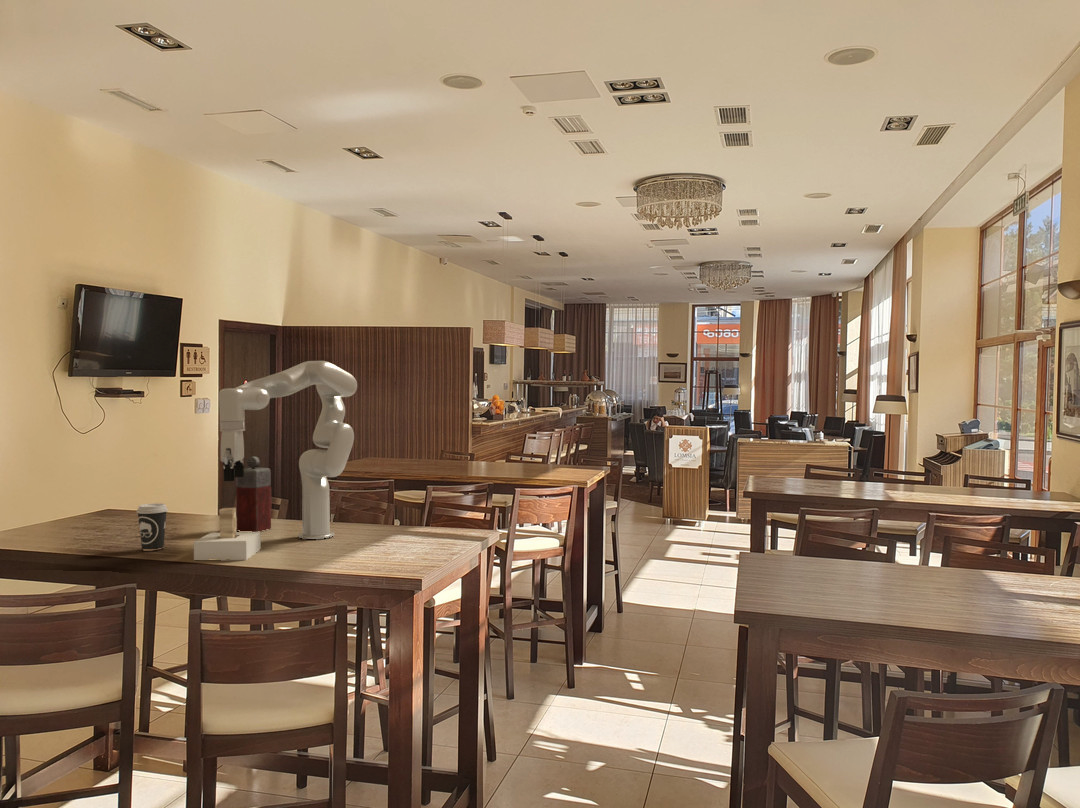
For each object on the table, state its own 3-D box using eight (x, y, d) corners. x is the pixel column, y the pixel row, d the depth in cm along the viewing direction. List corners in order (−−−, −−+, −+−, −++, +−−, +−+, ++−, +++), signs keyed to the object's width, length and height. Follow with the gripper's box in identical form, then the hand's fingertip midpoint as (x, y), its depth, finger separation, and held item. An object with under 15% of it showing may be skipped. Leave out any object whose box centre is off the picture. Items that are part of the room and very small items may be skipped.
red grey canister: (275, 527, 304) (274, 455, 304) (256, 532, 294) (256, 457, 293) (255, 526, 307) (254, 454, 306) (236, 531, 296) (235, 457, 295)
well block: (211, 550, 262) (211, 532, 262) (260, 549, 263) (260, 531, 263) (193, 561, 246) (193, 541, 246) (246, 559, 247) (246, 540, 247)
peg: (223, 553, 256) (223, 508, 256) (236, 553, 257) (235, 507, 257) (220, 556, 252) (219, 509, 252) (233, 556, 253) (232, 509, 253)
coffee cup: (169, 550, 262) (169, 505, 261) (137, 554, 257) (136, 508, 257) (167, 545, 270) (166, 502, 270) (136, 548, 265) (135, 504, 265)
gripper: (229, 425, 264) (230, 475, 264) (211, 428, 246) (213, 483, 247) (252, 424, 264) (253, 475, 265) (236, 428, 247) (237, 482, 248)
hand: (234, 479), depth 256 cm, fingers open, 9 cm apart
